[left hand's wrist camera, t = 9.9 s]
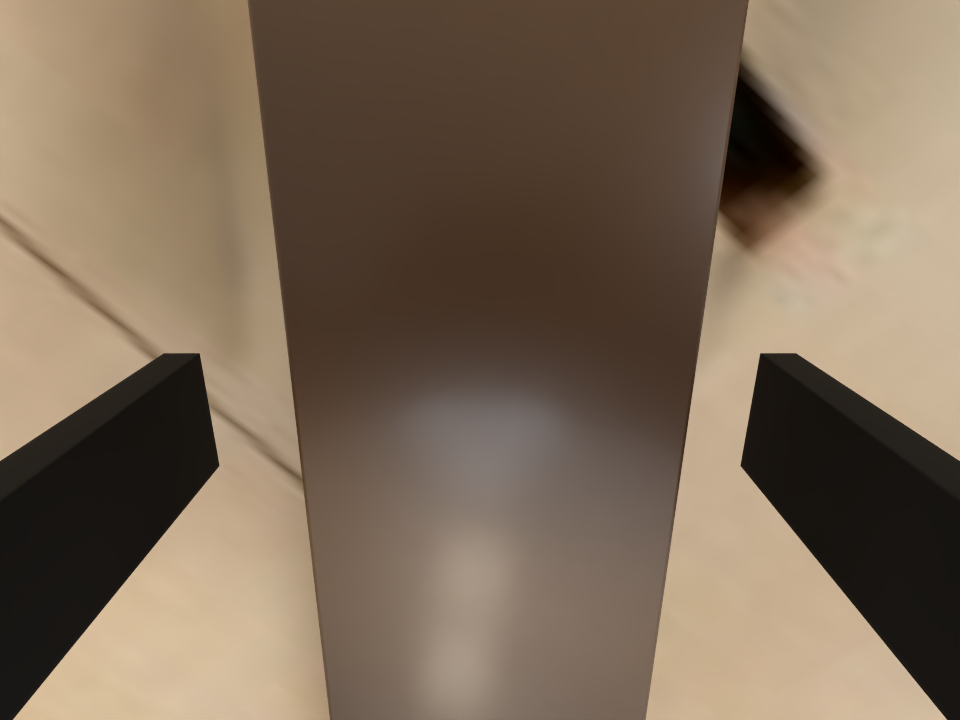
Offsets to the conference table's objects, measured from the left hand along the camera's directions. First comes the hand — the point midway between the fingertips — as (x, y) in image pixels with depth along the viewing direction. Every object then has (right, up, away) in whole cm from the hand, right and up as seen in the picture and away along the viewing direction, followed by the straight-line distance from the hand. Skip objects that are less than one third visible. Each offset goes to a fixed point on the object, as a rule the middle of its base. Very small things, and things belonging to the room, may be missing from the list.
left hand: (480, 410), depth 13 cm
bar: (0, -26, +13) cm, 29 cm away
